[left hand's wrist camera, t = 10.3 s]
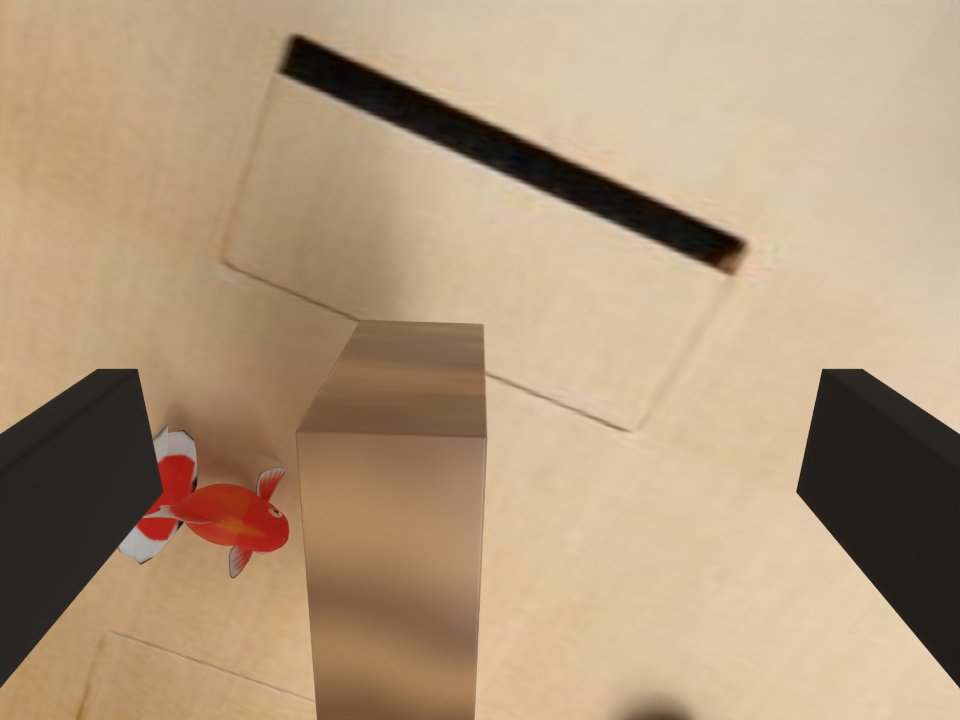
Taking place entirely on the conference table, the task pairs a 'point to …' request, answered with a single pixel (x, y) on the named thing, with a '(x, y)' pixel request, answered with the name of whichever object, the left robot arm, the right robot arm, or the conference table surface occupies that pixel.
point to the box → (396, 522)
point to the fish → (207, 508)
